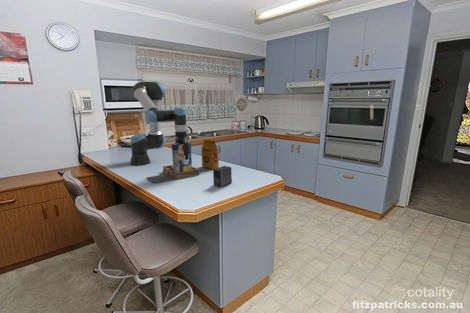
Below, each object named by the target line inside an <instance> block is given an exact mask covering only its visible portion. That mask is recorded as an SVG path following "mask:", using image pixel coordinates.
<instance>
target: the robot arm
mask: <svg viewBox="0 0 470 313" xmlns="http://www.w3.org/2000/svg"><path fill="white" fill-rule="evenodd" d="M131 89H132V90H131V91H132V95H133V97H134V98H135V99H136V100H137V101H138V102H139V103H140V105H141V107H142V108H143V110H144V111H145V119H146V121H147V122H148V123H149V131H148V132H147V134H145V133H139V134H134V135H132V136H131V137H130V146H131V147H130V148H131V149H130V150H131V157H130V165H131V166H144V165H149V164H150V163H151V159H150V157H149V154H148V150H156V149H158V150H159V149H162V148H164V147H165V144H166V137H165V134H164V133H163V132H162V131H161V125H162V124H161V123H163V122H164V123H166V122H174V130H175V132H174V134H175V138H174V139H175V143H174V144H176V143H179V144H181V145H182V144H184V145H182V147H183V151H184V165H186V164H188V155H189V154H190V152H189V147H188V143H189V142H188V139H186V138H187V137H188V134H187V111H186V108H185V107H174V109H168V110H167V109H164V110H161V102H162V101H163V98H165V95H166V90H165V86H164V85H163V83H162V82H160V81H145V80H144V81H143V80H142V81H138V82H136V83H135V84H134V85H133V87H132V88H131Z"/></svg>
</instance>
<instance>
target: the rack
mask: <svg viewBox="0 0 470 313" xmlns="http://www.w3.org/2000/svg"><path fill="white" fill-rule="evenodd" d="M171 165H172V164H171ZM171 165H165V166H162V171H163V174H168V175H170V176H171V177H173V178H175V181H176V180H180V179H186V178H192V177H196V176H200V168H199V169H198V168H197V167H194V166H192V170H191V171H186V172H180V173H175V172H174V171H173V168H171Z"/></svg>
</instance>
